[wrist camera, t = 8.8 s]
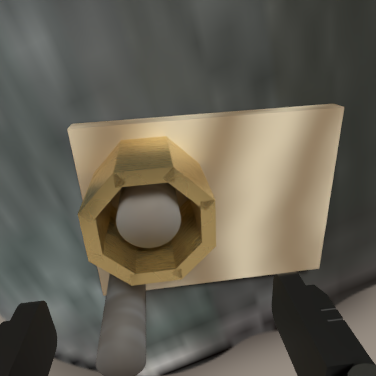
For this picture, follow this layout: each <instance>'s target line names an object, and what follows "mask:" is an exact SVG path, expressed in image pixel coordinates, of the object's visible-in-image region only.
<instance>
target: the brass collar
mask: <svg viewBox="0 0 376 376" xmlns="http://www.w3.org/2000/svg"><path fill="white" fill-rule="evenodd" d="M158 183H169V184H171V185H172V186H173V187H174V188H176V189H177V190H178V191H180V192H181V193H182V194H184V195H185V196H186V197H188V198H189V199H188V200H187V201H186V202H185V203H184V204H183V205H182V206H181V207H180V208H179V210H180V215H181V224H180V228H179V230H178V232H177V234H176V235H175V236H174V237H173V238H172V239H171V240H170V241H169V242H167V243H166V244H164V245H161V246H158V247H154V248H142V247H138V246H135V245H132V244H130V243H129V242H127V241H126V240H125V239H124V238H123V237H122V236H121V235H120V233H119V231H118V229H117V225H116V217H117V211H118V209H117V208H115V207H114V206H112V201H111V199H112V198H113V197H114V196H115V195H116V194H117V192H118V191H119V190H120V189H121V188H122V187H127V186H137V185H148V184H158ZM78 217H79V221H80V226H81V230H82V234H83V239H84V243H85V247H86V252H87V256H88V261H89V262H91V263H93V264H95V265H96V266H98V267H100V268H102V269H103V270H105V271H107V272H109V273H110V274H112V275H114V276H116V277H117V278H119V279H121V280H123V281H124V282H126V283H128V284H130V285H131V286H134V285H142V284H149V283H157V282H165V281H173V280H181V279H183V278H184V277H185V276H186V275H187V274H188V273H189V272H190V271H191V270H192V269H193V268H194V267H195V266H196V265H197V264H198V263H199V262H200V261H201V260H203V259H204V258H205V257H206V256H207V255H208V254H209V253H210V252H211V251H212V250H213V249H214V248H215V247H216V208H215V198H214V196H213V193H212V191H211V189H210V187H209V184H208V182H207V180H206V178H205V175H204V173H203V171H202V169H201V166H200V164H199V163H198V162H197V161H196V160H195V159H193V158H192V157H191V156H190V155H189V154H187V153H186V152H185V151H184V150H183V149H181V148H180V147H179V146H178V145H177V144H175V143H174V142H173V141H172V140H170V139H169V138H168V137H167V136H162V137H150V138H139V139H127V140H121V141H120V142H119V143H118V144H117V146H116V147H115V148H114V149H113V151H112V152H111V153H110V154H109V155H108V157H107V158H106V159H105V160H104V161H103V163H102V164H101V165H100V166H99V168H98V169H97V170H96V171H95V172H94V174H93V177H92V179H91V182H90V184H89V187H88V190H87V192H86V195H85V197H84V200H83V202H82V205H81V207H80V210H79V212H78Z"/></svg>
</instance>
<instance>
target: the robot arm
mask: <svg viewBox="0 0 376 376" xmlns="http://www.w3.org/2000/svg"><path fill="white" fill-rule="evenodd" d="M272 313H273V318H274V321H275V324H276V327H277V329H278V331H279V333H280V336H281V338H282V340H283V343H284V345H285V347H286V350H287V352H288V354H289V357H290V359H291V361H292V364H293V366H294V368H295V371H296V373H297V375H298V376H376V365H375V364H374V362H373V361H372V360H371V358H370V357H369V355H368V354H367V353H366V351H365V350H364V348H363V347H362V345H361V344H360V342H359V341H358V339H357V338H356V336H355V335H354V333H353V332H352V331H351V329H350V328H349V326H348V325H347V323H346V322H345V321H344V320H343V318H342V316H341V314H340V313H339V312H338V310H336V308H335V306H334V304H333V303H332V301H331V300H330V298H329V297H328V295H327V294H325V293H324V292H323V291H322V290H320V289H319V288H318V287H316V286H315V285H307V286H306V285H305V283H304V282H303V280H302V279H301V277H300V275H299V274H298V273H297V272H287V273H279V274H275V275H274V279H273V295H272ZM56 347H57V333H56V329H55V327H54V324H53V321H52V318H51V315H50V312H49V309H48V306H47V303H46V302H45V301H37V302H28V303H21V304H19V305H18V307H17V308H16V310H15V312H14V314H13V316H12V318H11V320H10V321H5V322H2V323H1V324H0V376H48V374H49V371H50V368H51V365H52V361H53V358H54V355H55V352H56Z"/></svg>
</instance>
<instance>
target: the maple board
mask: <svg viewBox="0 0 376 376" xmlns="http://www.w3.org/2000/svg"><path fill="white" fill-rule="evenodd" d="M343 112H344V107H342V106H339V105H336V104H323V105H310V106H297V107H284V108H271V109H258V110H245V111H232V112H220V113H207V114H194V115H181V116H168V117H155V118H142V119H129V120H116V121H103V122H91V123H78V124H72V125H71V126H70V127H69V128H68V134H69V138H70V143H71V148H72V152H73V157H74V162H75V166H76V171H77V175H78V180H79V185H80V189H81V194H82V199H83V200H84V197H85V195H86V192H87V190H88V187H89V184H90V182H91V179H92V177H93V174H94V172H95V171H96V170H97V169H98V168H99V166H100V165H101V164H102V163H103V161H104V160H105V159H106V158H107V157H108V155H109V154H110V153H111V152H112V151H113V149H114V148H115V147H116V146H117V144H118V143H119V142H120V141H121V140H127V139H139V138H150V137H162V136H167V137H168V138H169V139H170V140H172V141H173V142H174V143H175V144H177V145H178V146H179V147H180V148H181V149H183V150H184V151H185V152H186V153H187V154H189V155H190V156H191V157H192V158H193V159H195V160H196V161H197V162H198V163H199V164H200V166H201V169H202V171H203V173H204V175H205V178H206V180H207V182H208V184H209V187H210V189H211V191H212V193H213V196H214V198H215V208H216V247H215V248H214V249H213V250H212V251H211V252H210V253H209V254H208V255H207V256H206V257H205V258H204V259H203V260H201V261H200V262H199V263H198V264H197V265H196V266H195V267H194V268H193V269H192V270H191V271H190V272H189V273H188V274H187V275H186V276H185V277H184V278H183V279H181V280H173V281H165V282H157V283H149V284H142V285H134V286H131V285H130V284H128V283H126V282H124V281H123V280H121V279H119V278H117V277H116V276H114V275H112V274H110V273H109V272H107V271H105V270H103V269H102V268H100V267H98V266H97V268H98V273H99V277H100V282H101V287H102V291H103V296H104V295H106V300H105V306H104V313H103V319H102V326H101V332H100V339H99V345H98V352H97V358H96V368H97V370H98V371H99V372H100V373H101V374H102V375H104V376H135V375H137V374H139V373H140V372H141V371H142V370H143V369H144V367H145V364H146V290H152V289H160V288H168V287H176V286H184V285H192V284H200V283H208V282H216V281H224V280H232V279H239V278H247V277H255V276H263V275H271V274H279V273H287V272H295V271H303V270H311V269H319V265H320V259H321V252H322V246H323V240H324V233H325V227H326V220H327V214H328V208H329V201H330V195H331V188H332V182H333V176H334V169H335V163H336V156H337V150H338V144H339V137H340V131H341V124H342V118H343ZM188 199H189V198H188V197H186V196H185V195H184V194H182V193H181V192H180V191H178V190H177V189H176V188H174V187H173V186H172V185H171V184H169V183H158V184H148V185H137V186H127V187H122V188H121V189H120V190H119V191H118V192H117V194H116V195H115V196H114V197H113V198H112V199H111V201H112V206H114V207H115V208H117V209H118V211H117V217H116V225H117V229H118V231H119V233H120V235H121V236H122V237H123V238H124V239H125V240H126V241H127V242H129V243H130V244H132V245H135V246H138V247H142V248H154V247H158V246H161V245H164V244H166V243H167V242H169V241H170V240H171V239H172V238H173V237H174V236H175V235H176V234H177V232H178V230H179V228H180V224H181V215H180V210H179V208H180V207H181V206H182V205H183V204H184V203H185V202H186V201H187V200H188Z"/></svg>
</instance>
